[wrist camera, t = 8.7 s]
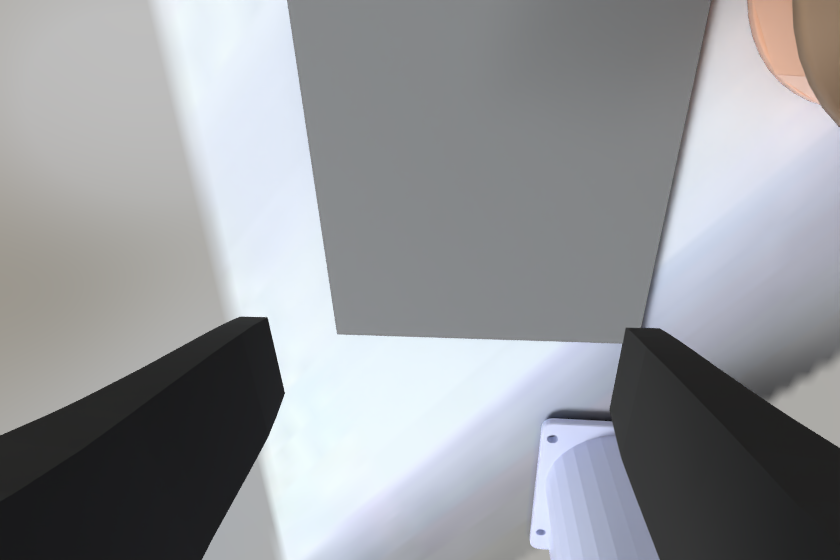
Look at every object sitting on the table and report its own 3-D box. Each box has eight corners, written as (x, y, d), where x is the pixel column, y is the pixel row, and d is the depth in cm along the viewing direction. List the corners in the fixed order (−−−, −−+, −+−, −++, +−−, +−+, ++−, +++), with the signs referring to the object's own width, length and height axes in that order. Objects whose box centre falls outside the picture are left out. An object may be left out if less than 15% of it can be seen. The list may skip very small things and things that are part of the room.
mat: (634, 338, 19) (637, 344, 19) (339, 329, 21) (337, 334, 20) (711, -28, 13) (717, -30, 13) (291, -1, 15) (286, -2, 14)
